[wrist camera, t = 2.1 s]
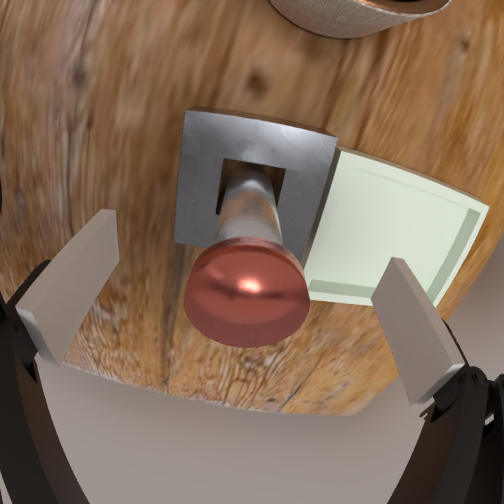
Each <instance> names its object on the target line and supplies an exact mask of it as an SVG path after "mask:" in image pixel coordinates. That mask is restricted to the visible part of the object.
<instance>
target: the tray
mask: <svg viewBox="0 0 504 504" xmlns="http://www.w3.org/2000/svg"><path fill="white" fill-rule="evenodd" d="M488 209H489V206H488V205H486V204H485V203H484V202H482V201H481V200H480V199H478V198H477V197H475V196H473V195H471V194H469V193H467V192H465V191H463V190H461V189H458V188H456V187H454V186H452V185H449V184H447V183H445V182H442V181H440V180H438V179H435V178H433V177H430V176H428V175H425V174H423V173H420V172H418V171H415V170H412V169H410V168H407V167H404V166H401V165H399V164H396V163H393V162H390V161H387V160H384V159H381V158H378V157H375V156H372V155H369V154H366V153H362V152H359V151H356V150H352V149H349V148H345V147H342V146H338V145H336V147H335V151H334V155H333V158H332V162H331V165H330V169H329V173H328V176H327V180H326V183H325V186H324V190H323V193H322V197H321V200H320V203H319V207H318V210H317V213H316V216H315V220H314V223H313V226H312V229H311V232H310V235H309V239H308V242H307V245H306V248H305V251H304V254H303V257H302V260H301V262H299V263H300V264H301V266H302V269H303V271H304V275H305V280H306V284H307V288H308V292H309V297H310V299H311V300H320V301H329V302H339V303H348V304H359V305H369V306H373V304H372V302H371V299H370V298H371V297H372V295H373V293H374V291H375V289H376V287H377V285H378V283H379V281H380V279H381V277H382V275H383V273H384V271H385V269H386V267H387V265H388V263H389V261H390V259H391V257H396V258H401V259H404V260H405V262H406V263H407V265H408V266H409V268H410V269H411V271H412V272H413V274H414V275H415V277H416V278H417V280H418V281H419V283H420V284H421V286H422V287H423V289H424V291H425V292H426V294H427V295H428V297H429V299H430V300H431V302H432V304H433V305H434V307H435V308H436V306H437V305H438V303H439V302H440V300H441V299H442V297H443V295H444V294H445V292H446V291H447V289H448V287H449V286H450V284H451V282H452V281H453V279H454V277H455V276H456V274H457V272H458V270H459V269H460V267H461V265H462V263H463V261H464V259H465V258H466V256H467V254H468V252H469V250H470V248H471V246H472V244H473V242H474V240H475V238H476V236H477V234H478V232H479V230H480V227H481V225H482V223H483V221H484V218H485V216H486V214H487V212H488Z"/></svg>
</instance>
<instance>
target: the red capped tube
mask: <svg viewBox="0 0 504 504" xmlns="http://www.w3.org/2000/svg"><path fill="white" fill-rule="evenodd" d="M184 307H185V311H186V314H187V316H188V318H189V320H190V321H191V323H192V324H193V325H194V326H195V327H196V328H197V329H198V330H199V331H200V332H201V333H202V334H204V335H205V336H207V337H208V338H210V339H212V340H214V341H216V342H219V343H222V344H225V345H229V346H234V347H243V348H253V347H262V346H267V345H271V344H274V343H276V342H279V341H281V340H283V339H285V338H287V337H289V336H290V335H292V334H293V333H294V332H295V331H296V330H297V329H298V328H299V327H300V326H301V325H302V324H303V322H304V321H305V319H306V317H307V315H308V312H309V307H310V297H309V292H308V288H307V284H306V280H305V275H304V271H303V269H302V266H301V264H300V263H299V261H298V259H297V258H296V257H295V256H294V255H293V254H292V253H291V252H290V251H289V250H288V249H286V248H285V247H283V241H282V236H281V230H280V225H279V219H278V214H277V208H276V203H275V198H274V192H273V187H272V182H271V177H270V172H269V168H268V166H267V165H263V164H258V163H252V162H246V161H240V160H237V161H236V162H235V163H234V164H233V166H232V168H231V171H230V175H229V179H228V183H227V187H226V192H225V196H224V200H223V204H222V208H221V212H220V217H219V221H218V225H217V230H216V234H215V238H214V243H213V245H212V246H210V247H209V248H208V249H206V250H205V251H204V252H203V253H202V254H201V255H200V256H199V257H198V258H197V260H196V261H195V263H194V265H193V267H192V270H191V273H190V277H189V280H188V284H187V287H186V291H185V295H184Z"/></svg>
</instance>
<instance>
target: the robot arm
mask: <svg viewBox="0 0 504 504" xmlns="http://www.w3.org/2000/svg"><path fill="white" fill-rule="evenodd" d="M0 208H1V188H0ZM119 261H120V259H119V249H118V237H117V221H116V211H115V210H108V209H101V210H100V211H99V212H98V213H97V214H96V215H95V216H94V217H93V218H92V219H91V220H90V221H89V222H88V223H87V224H86V225H85V226H84V227H83V228H82V229H81V230H80V231H79V232H78V233H77V234H76V235H75V236H74V237H73V238H72V239H71V240H70V241H69V242H68V243H67V244H66V245H65V246H64V248H63V249H62V250H61V251H60V252H59V253H58V254H57V255H56V256H55V258H54V259H53V260H48V259H47V260H46V261H44V262H43V263H41V264H40V265H38V266H37V267H36V268H35V269H34V270H33V272H32V273H31V274H30V276H28V277H27V279H26V280H25V282H24V283H22V285H21V286H20V287H19V288H18V290H17V291H16V292H15V293H14V295H13V296H12V297H11V299H10V300H9V301H8V302H7V304H5V301H4V299H3V297H2V294H1V292H0V471H1V474H2V477H3V480H4V483H5V486H6V488H7V491H8V494H9V496H10V499H11V501H12V503H13V504H90V503H89V502H88V500H87V498H86V496H85V495H84V493H83V491H82V489H81V487H80V485H79V483H78V481H77V479H76V477H75V475H74V473H73V471H72V469H71V467H70V464H69V462H68V460H67V458H66V455H65V453H64V451H63V448H62V446H61V443H60V441H59V438H58V435H57V433H56V430H55V427H54V424H53V421H52V419H51V415H50V413H49V409H48V406H47V403H46V399H45V396H44V392H43V389H42V385H41V381H40V377H39V373H38V369H37V364H36V362H35V359H34V357H35V355H36V353H37V351H38V353H39V355H40V356H41V358H42V360H43V361H44V362H47V363H50V364H52V365H55V366H57V367H60V365H61V363H62V361H63V359H64V357H65V354H66V353H67V351H68V349H69V347H70V345H71V343H72V341H73V339H74V337H75V335H76V333H77V331H78V330H79V328H80V326H81V324H82V322H83V320H84V319H85V317H86V315H87V313H88V312H89V310H90V308H91V306H92V305H93V303H94V301H95V300H96V298H97V296H98V294H99V293H100V291H101V289H102V288H103V286H104V285H105V283H106V281H107V280H108V278H109V277H110V275H111V273H112V272H113V270H114V269H115V267H116V266H117V264H118V262H119ZM370 299H371V302H372V304H373V306H374V309H375V311H376V313H377V316H378V318H379V321H380V323H381V326H382V328H383V331H384V333H385V336H386V338H387V341H388V343H389V346H390V348H391V351H392V354H393V356H394V359H395V362H396V365H397V367H398V370H399V373H400V376H401V379H402V381H403V384H404V387H405V390H406V393H407V397H408V400H409V403H410V406H416V405H422V404H424V403H426V402H427V401H428V400H429V399H430V398H431V397H432V396H433V398H434V400H435V402H434V403H432V404H431V405H430V406H429V407H428V408H427V409H425V410H424V411H423V412H422V413H421V414H420V416H419V417H422V416H423V415H425V414H426V413H428V414H427V416H426V417H425V418H424V420H425V423H424V425H423V428H422V431H421V433H420V436H419V439H418V441H417V444H416V446H415V448H414V451H413V453H412V455H411V458H410V460H409V462H408V464H407V466H406V468H405V471H404V473H403V475H402V477H401V479H400V481H399V483H398V485H397V486H396V488H395V490H394V492H393V494H392V496H391V498H390V499H389V501H388V503H387V504H504V374H501V375H499V376H498V377H497V378H496V379H495V380H494V381H491V380H487V377H486V375H485V374H484V373H483V371H482V370H481V369H479V368H478V367H475V366H472V367H470V366H469V364H468V362H467V360H466V358H465V356H464V354H463V352H462V350H461V348H460V346H459V344H458V342H456V339H455V337H454V335H452V334H453V333H452V331H451V330H450V328H449V326H448V325H447V323H446V322H445V321H444V320H443V319H442V318H441V317H440V315H439V314H438V312H437V310H436V309H435V307H434V305H433V304H432V302H431V300H430V299H429V297H428V295H427V294H426V292H425V291H424V289H423V287H422V286H421V284H420V283H419V281H418V280H417V278H416V277H415V275H414V274H413V272H412V271H411V269H410V268H409V266H408V265H407V263H406V262H405V260H404V259H401V258H396V257H391V259H390V261H389V263H388V265H387V267H386V269H385V271H384V273H383V275H382V277H381V279H380V281H379V283H378V285H377V287H376V289H375V291H374V293H373V295H372V297H371V298H370ZM492 414H494V420H493V421H491V422H490V423H489V424H487V425H485V420H486V419H487V418H489V417H490V416H491V415H492ZM0 504H3V501H2V496H1V491H0Z"/></svg>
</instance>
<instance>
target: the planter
mask: <svg viewBox="0 0 504 504" xmlns="http://www.w3.org/2000/svg"><path fill="white" fill-rule="evenodd" d="M269 1H270V2H271V3H272V5H273V6H274V7H275V8H276V9H277V10H278V11H279V12H280V13H281V14H282V15H283V16H285V17H286V18H287V19H289V20H290V21H291V22H293V23H295V24H296V25H298V26H300V27H302V28H304V29H306V30H308V31H311V32H313V33H316V34H319V35H323V36H328V37H333V38H360V37H365V36H369V35H372V34H374V33H377V32H380V31H382V30H385V29H388V28H390V27H393V26H396V25H398V24H401V23H404V22H408V21H411V20H414V19H418V18H421V17H425V16H429V15H432V14H435V13H437V12H439V11H441V10H443V9H444V8H445V7H447V6H448V4H449V3H450V2H451V1H452V0H269Z"/></svg>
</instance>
